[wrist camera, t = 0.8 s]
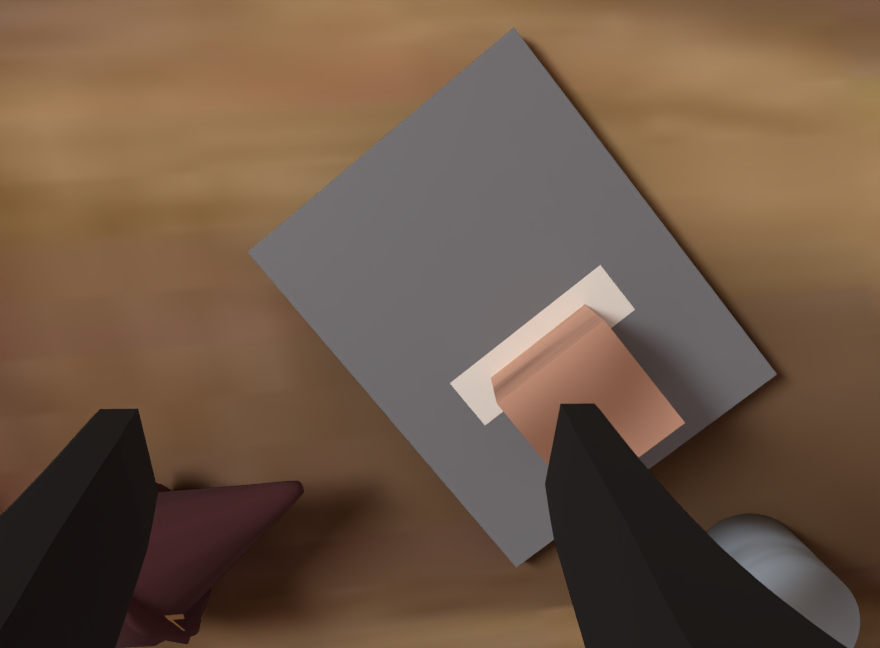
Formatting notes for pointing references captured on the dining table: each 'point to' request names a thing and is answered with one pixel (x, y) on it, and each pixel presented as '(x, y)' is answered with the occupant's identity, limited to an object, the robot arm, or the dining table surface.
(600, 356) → the terracotta block
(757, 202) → the dining table surface
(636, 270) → the board
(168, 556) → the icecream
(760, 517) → the slate cylinder
